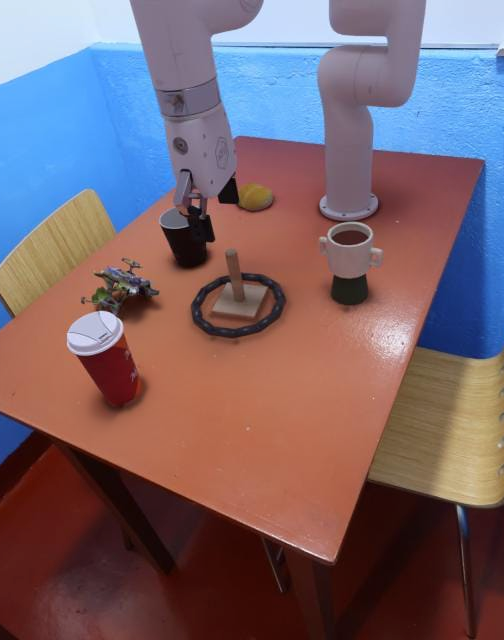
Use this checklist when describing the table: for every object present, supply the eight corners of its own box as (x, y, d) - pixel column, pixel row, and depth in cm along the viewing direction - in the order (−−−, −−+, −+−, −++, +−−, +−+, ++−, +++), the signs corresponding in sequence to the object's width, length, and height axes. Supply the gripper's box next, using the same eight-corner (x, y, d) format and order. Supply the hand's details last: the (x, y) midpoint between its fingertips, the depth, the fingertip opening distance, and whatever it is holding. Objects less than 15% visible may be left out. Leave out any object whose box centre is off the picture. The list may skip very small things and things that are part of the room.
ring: (213, 274, 92) (211, 267, 90) (295, 283, 86) (295, 275, 85) (177, 333, 81) (175, 326, 79) (269, 347, 75) (268, 339, 74)
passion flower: (151, 317, 93) (172, 279, 85) (113, 347, 85) (133, 309, 77) (108, 280, 93) (125, 239, 85) (67, 306, 85) (82, 264, 77)
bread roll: (256, 215, 106) (253, 199, 103) (230, 204, 111) (227, 189, 109) (281, 200, 110) (280, 184, 107) (255, 190, 115) (253, 174, 112)
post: (228, 287, 88) (217, 236, 81) (268, 291, 86) (261, 239, 78) (212, 315, 83) (199, 264, 75) (255, 321, 80) (245, 268, 73)
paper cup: (159, 388, 72) (131, 322, 63) (119, 422, 68) (82, 357, 59) (129, 366, 76) (99, 301, 67) (90, 396, 73) (52, 332, 63)
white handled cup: (387, 293, 81) (392, 228, 72) (371, 318, 77) (375, 253, 68) (329, 278, 86) (327, 216, 77) (312, 301, 82) (308, 238, 73)
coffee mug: (206, 272, 93) (195, 228, 86) (165, 271, 95) (152, 228, 88) (221, 239, 101) (212, 196, 94) (183, 238, 103) (172, 197, 96)
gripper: (187, 126, 48) (219, 259, 60) (242, 69, 60) (260, 191, 71) (125, 127, 51) (168, 255, 63) (189, 72, 62) (215, 189, 74)
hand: (217, 221), depth 67 cm, fingers open, 9 cm apart
